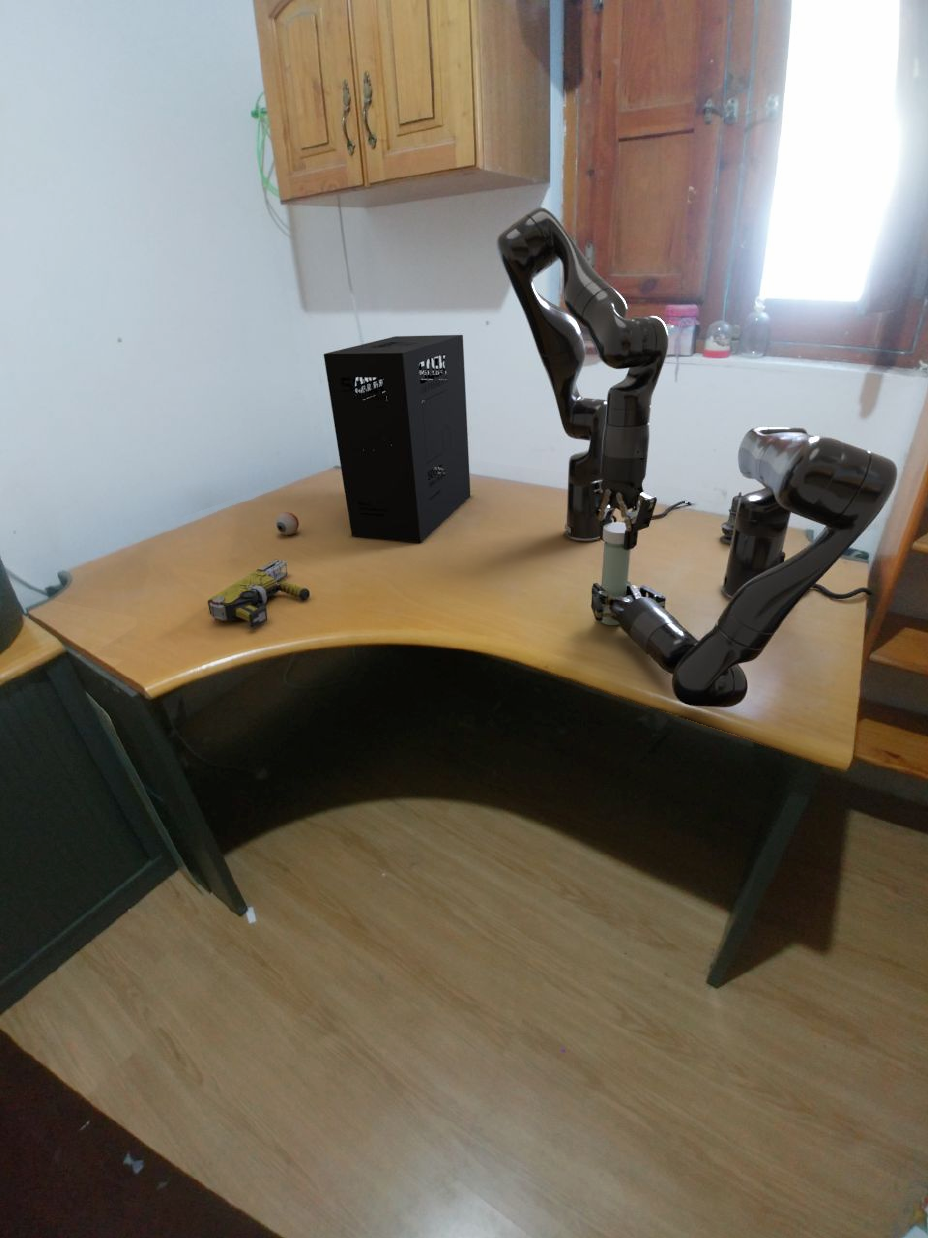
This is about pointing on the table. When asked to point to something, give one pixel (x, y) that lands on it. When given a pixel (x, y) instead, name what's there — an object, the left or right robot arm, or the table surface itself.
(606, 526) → the lid
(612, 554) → the jar
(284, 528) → the eyeball
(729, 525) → the salt shaker
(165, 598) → the table surface
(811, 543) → the right robot arm
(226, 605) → the toy gun
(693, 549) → the table surface
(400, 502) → the cardboard box
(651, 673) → the table surface
